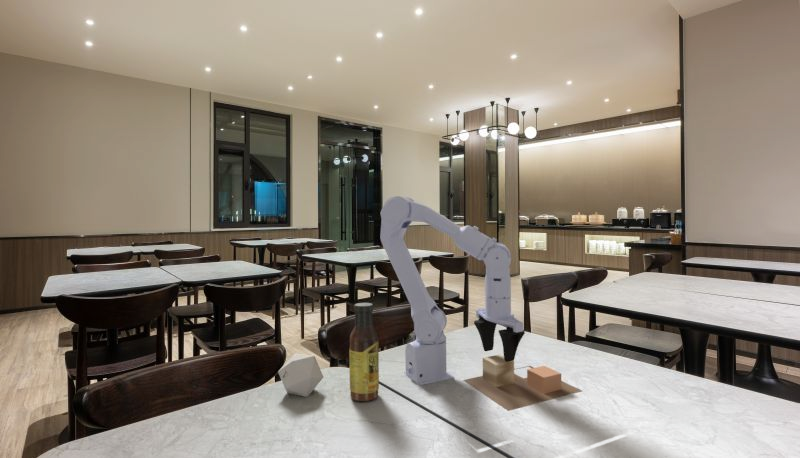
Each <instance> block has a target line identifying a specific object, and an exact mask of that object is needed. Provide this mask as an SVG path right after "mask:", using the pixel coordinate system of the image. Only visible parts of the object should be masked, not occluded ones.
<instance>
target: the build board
mask: <svg viewBox="0 0 800 458" xmlns="http://www.w3.org/2000/svg"><path fill="white" fill-rule="evenodd" d="M532 368H535V367H534V366H531V365H527V366H523V367H517V368H514V383H513V384H508V385H504V386H500V387H495V386H493V385H492V384H490V383H489V382H487V381H485V380H484V379H483V375H480V376H475V377H471V378H467V379H466V378H465V379H463V380H462V381H463V382H465V383H467V385H470V386H471V387H472V388H474V389H475V390H477V391H478V392H480V393H481V394H482V395H484V396H485V397H487V398H489V399H490V400H491V401H493V402H494V403H496V404H497V405H499V406H501V407H502V408H503V409H505V410H506V411H508V412H509V411H513V410H515V409H519V408H520V409H521V408H523V407H527V406H531V405H535V404H539V403H543V402H546V401H550V400H554V399H558V398H562V397H565V396H569V395H572V394H573V395H574V394H576V393H580V392H583V390H582V389H579V388H578V387H575V386H573V385H571V384H569V383H567V382H564V381H562V380H561V390H557V391H553V392H549V393H545V394H543V393H541V392H539V391H538V390H536V389H534V388H532V387H530V386H528V385H527V369H532Z"/></svg>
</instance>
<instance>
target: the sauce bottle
mask: <svg viewBox="0 0 800 458" xmlns="http://www.w3.org/2000/svg"><path fill="white" fill-rule="evenodd" d="M353 310H354V317H355V318H354V328H353V329H352V330H351V331H350V335H349V353H348V354H349V391H350V392H349V393H350V397H351V398H352V400H354V401H357V402H369V401H373V400H375V399H376V398H377V397H378V396H379V389H380V386H379V385H380V382H379V381H380V380H379V379H380V378H379V377H380V374H379V373H380V371H379V370H380V369H379V368H380V367H379V366H380V365H379V364H380V363H379V358H380V357H379V355H380V354H379V352H380V351H379V338H378V336H377V332H376V330H375V326H374V324H373V323H374V322H373V311H374V305H373V303H372V302H371V303H370V302H358V303H355V304H353Z"/></svg>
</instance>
